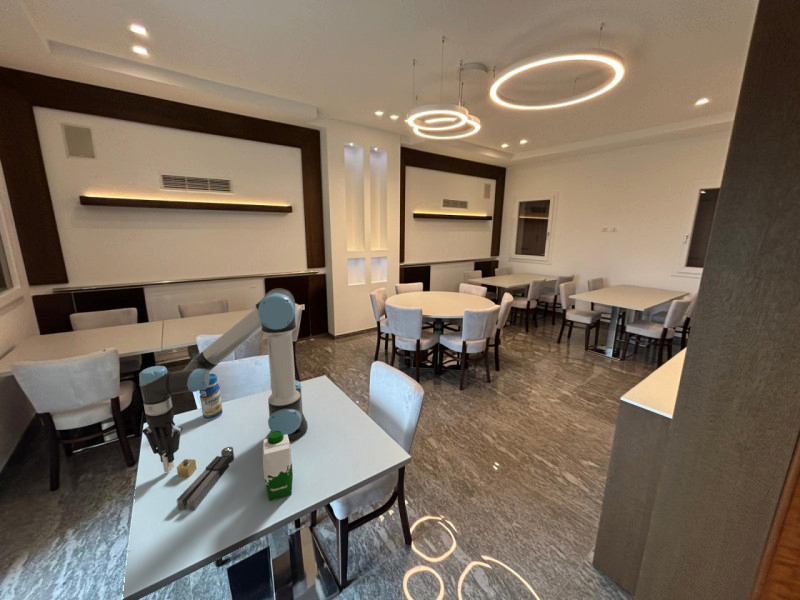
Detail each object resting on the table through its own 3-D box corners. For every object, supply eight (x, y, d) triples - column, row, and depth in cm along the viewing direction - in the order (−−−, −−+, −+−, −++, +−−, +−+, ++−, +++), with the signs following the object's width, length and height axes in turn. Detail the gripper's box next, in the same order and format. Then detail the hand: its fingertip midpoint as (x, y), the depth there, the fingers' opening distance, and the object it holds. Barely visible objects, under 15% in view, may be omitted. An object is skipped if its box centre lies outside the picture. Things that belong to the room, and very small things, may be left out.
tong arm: (218, 465, 117) (216, 456, 116) (223, 465, 116) (221, 456, 116) (178, 509, 98) (176, 498, 97) (184, 509, 98) (182, 498, 97)
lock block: (196, 468, 115) (194, 457, 114) (189, 477, 111) (187, 465, 110) (186, 468, 115) (184, 457, 114) (178, 476, 111) (176, 465, 110)
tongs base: (226, 456, 121) (224, 445, 120) (236, 456, 121) (235, 445, 120) (181, 509, 98) (179, 496, 97) (194, 510, 98) (192, 497, 97)
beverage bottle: (218, 408, 154) (213, 371, 150) (226, 414, 149) (221, 375, 145) (199, 416, 148) (194, 377, 143) (207, 422, 143) (202, 382, 139)
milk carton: (292, 477, 112) (288, 427, 107) (294, 496, 103) (290, 443, 99) (265, 484, 108) (260, 433, 104) (266, 505, 100) (260, 450, 96)
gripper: (131, 416, 104) (143, 476, 109) (169, 417, 104) (179, 477, 109) (149, 404, 112) (160, 461, 117) (185, 405, 111) (193, 462, 116)
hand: (169, 469), depth 113 cm, fingers closed
